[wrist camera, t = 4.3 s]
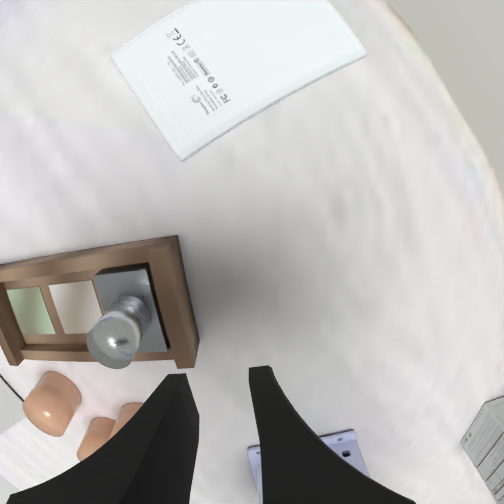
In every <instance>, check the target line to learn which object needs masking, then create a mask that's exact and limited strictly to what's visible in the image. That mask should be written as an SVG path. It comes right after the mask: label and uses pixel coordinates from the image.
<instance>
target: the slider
mask: <svg viewBox="0 0 504 504" xmlns="http://www.w3.org/2000/svg"><path fill="white" fill-rule="evenodd" d="M94 280H95V283H96V287H97V290H98V294H99V297H100V300H101V304H102V307H103V310H104V314H103V315H102V316H101V317H100V319H99V320H98V321H97V322H96V324H95V325H94V326H93V327H92V329H91V330H90V331H89V333H88V335H87V339H86V342H87V347H88V350H89V352H90V353H91V355H92V356H93V357H94V358H95V359H96V360H97V361H98V362H99V363H101V364H102V365H104V366H106V367H109V368H113V369H121V368H124V367H126V366H128V365H129V364H130V363H131V361H132V359H133V357H134V355H135V353H148V352H166V351H168V349H169V346H170V342H169V339H168V335H167V332H166V328H165V325H164V321H163V317H162V314H161V310H160V306H159V302H158V298H157V294H156V290H155V286H154V282H153V277H152V273H151V269H150V264H149V263H142V264H135V265H127V266H120V267H112V268H105V269H101V270H100V271H99V272H98V273H96V274H95V275H94Z"/></svg>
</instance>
